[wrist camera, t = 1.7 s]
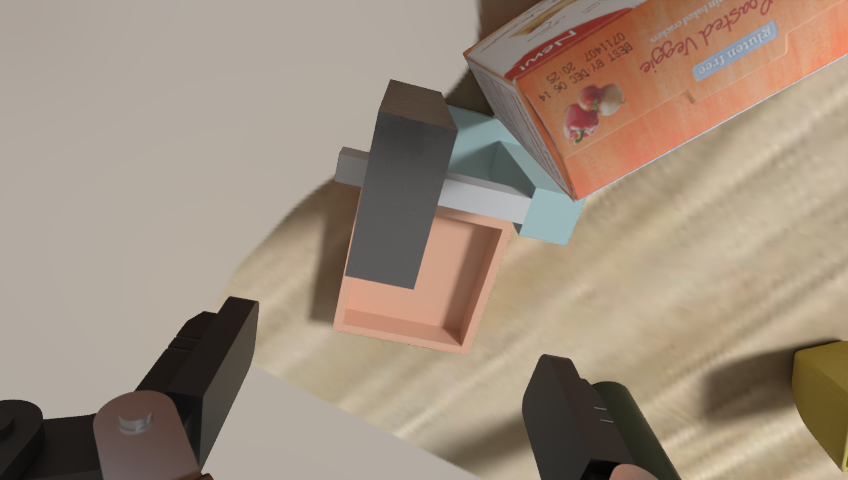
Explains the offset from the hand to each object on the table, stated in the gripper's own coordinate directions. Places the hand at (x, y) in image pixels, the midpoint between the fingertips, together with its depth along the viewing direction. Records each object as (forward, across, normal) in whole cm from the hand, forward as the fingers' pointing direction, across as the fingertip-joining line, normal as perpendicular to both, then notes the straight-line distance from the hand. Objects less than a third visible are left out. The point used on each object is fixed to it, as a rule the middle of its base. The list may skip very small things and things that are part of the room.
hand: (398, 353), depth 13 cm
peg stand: (+27, -3, 0) cm, 27 cm away
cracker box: (+27, -9, -10) cm, 31 cm away
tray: (+27, -4, +11) cm, 29 cm away
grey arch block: (+23, 0, 0) cm, 23 cm away
